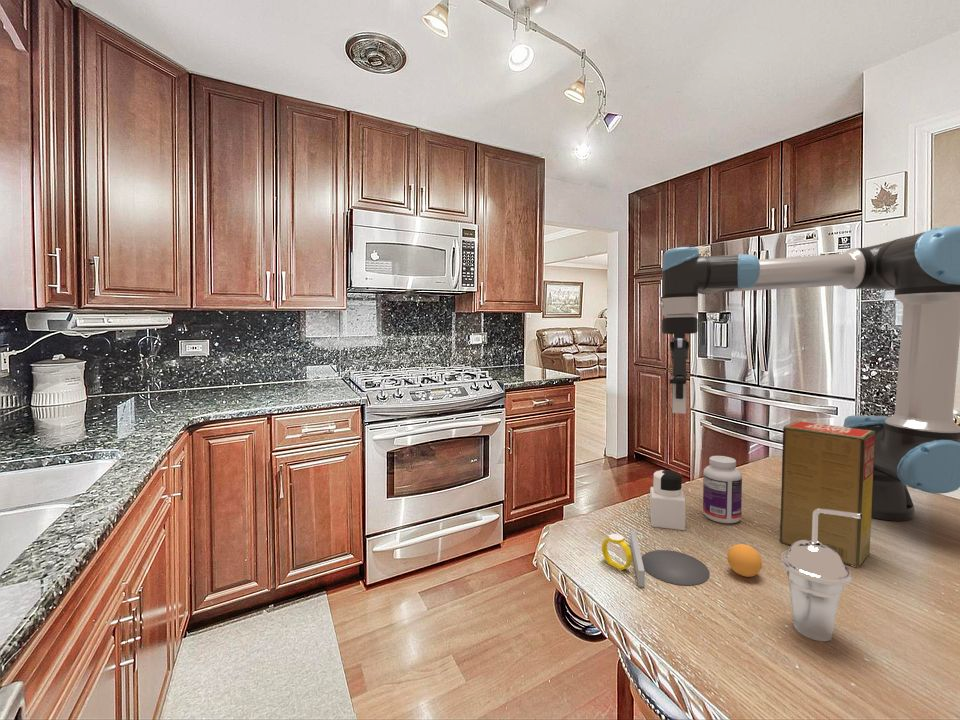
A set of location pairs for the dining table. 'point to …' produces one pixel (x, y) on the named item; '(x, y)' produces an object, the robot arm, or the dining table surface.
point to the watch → (620, 540)
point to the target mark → (675, 567)
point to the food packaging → (828, 486)
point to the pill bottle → (722, 490)
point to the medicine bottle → (667, 501)
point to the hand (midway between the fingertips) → (678, 407)
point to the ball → (744, 560)
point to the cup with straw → (815, 581)
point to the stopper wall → (637, 559)
